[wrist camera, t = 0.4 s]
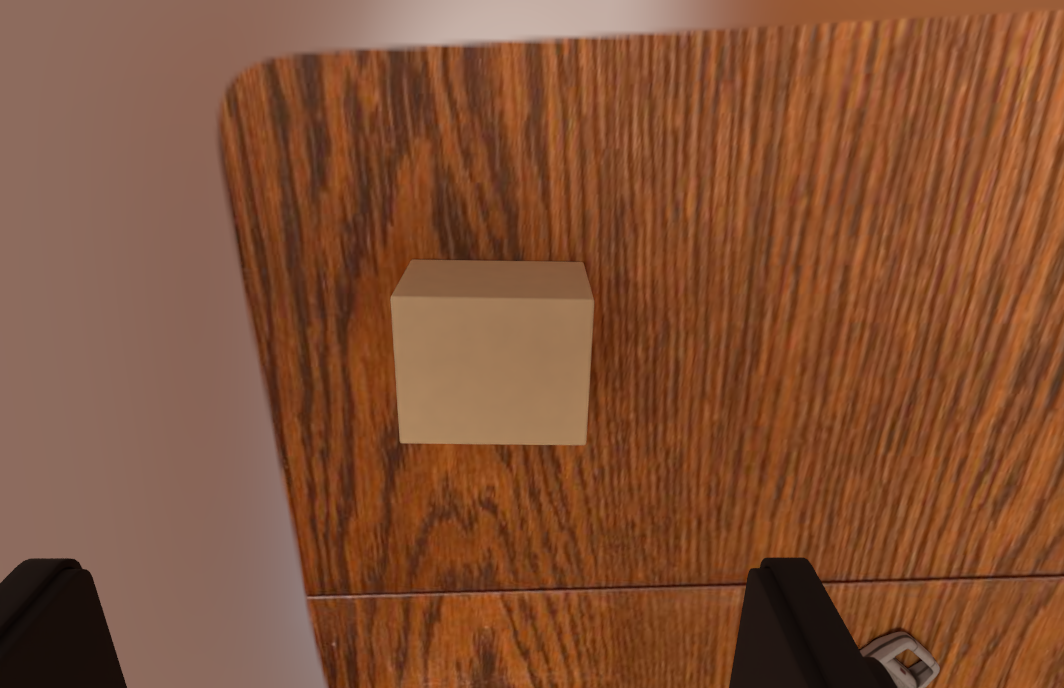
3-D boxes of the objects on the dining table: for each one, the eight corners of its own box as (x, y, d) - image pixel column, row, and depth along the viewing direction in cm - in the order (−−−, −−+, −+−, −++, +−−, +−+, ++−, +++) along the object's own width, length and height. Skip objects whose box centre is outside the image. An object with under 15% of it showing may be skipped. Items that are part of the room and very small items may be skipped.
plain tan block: (410, 258, 24) (389, 296, 20) (583, 261, 24) (594, 299, 20) (417, 388, 26) (399, 444, 22) (577, 390, 26) (586, 446, 22)
